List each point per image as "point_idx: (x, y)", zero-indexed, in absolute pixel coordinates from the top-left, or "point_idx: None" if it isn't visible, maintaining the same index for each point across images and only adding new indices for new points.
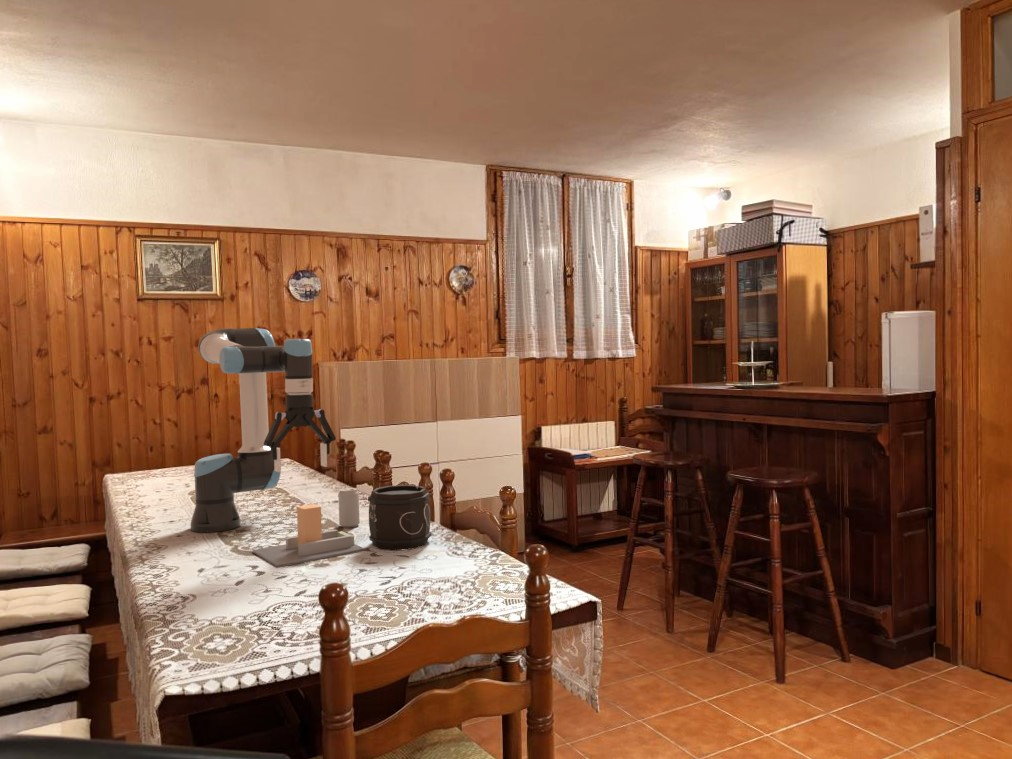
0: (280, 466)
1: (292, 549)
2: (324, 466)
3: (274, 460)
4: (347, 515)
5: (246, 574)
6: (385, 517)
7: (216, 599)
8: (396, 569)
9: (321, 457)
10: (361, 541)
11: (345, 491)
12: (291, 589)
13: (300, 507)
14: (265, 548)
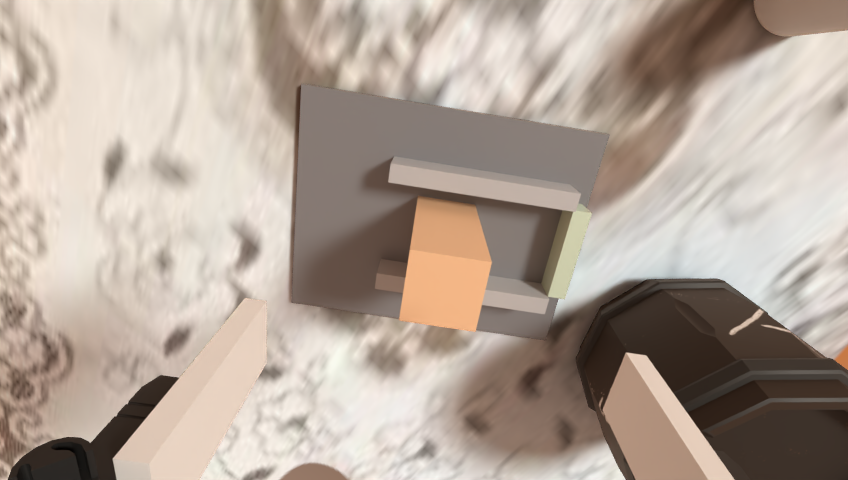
0: (250, 390)
1: (401, 187)
2: (603, 409)
3: (202, 354)
4: (796, 17)
5: (208, 296)
6: (613, 449)
7: (107, 403)
8: None
9: (651, 417)
10: (617, 244)
11: None
12: (251, 450)
13: (409, 279)
14: (344, 100)
